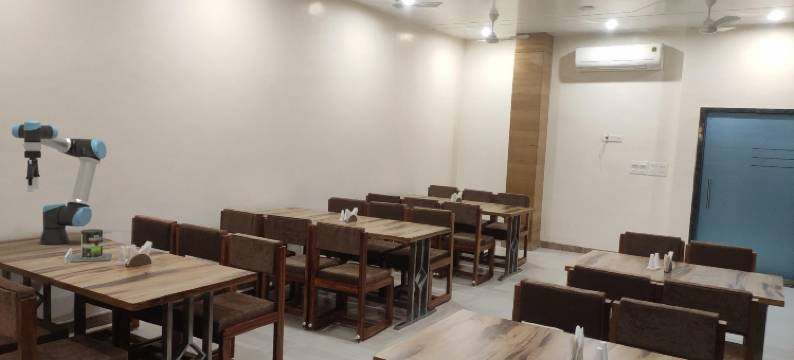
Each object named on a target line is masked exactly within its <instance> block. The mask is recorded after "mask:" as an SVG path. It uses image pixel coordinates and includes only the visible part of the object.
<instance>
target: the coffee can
mask: <svg viewBox="0 0 794 360" xmlns="http://www.w3.org/2000/svg"><path fill="white" fill-rule="evenodd" d="M103 232H104V230H103V229H95V228H94V229H92V228H91V229H83V230H81V231H80V236H81V237H80V254H81V258H83V259H96V258H101V257H103V252H104V251H103V242H104V241H103V236H104V235H103V234H104V233H103Z"/></svg>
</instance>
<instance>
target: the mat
mask: <svg viewBox="0 0 794 360" xmlns="http://www.w3.org/2000/svg"><path fill="white" fill-rule="evenodd" d="M112 255H113V252H110V253H109V252H107V253H103V257H101V258H96V259H83V258H81V253H79V254H74V255H73V257H72V259H71V260H70V263H90V262H91V263H96V262H110V261H111V258H112Z"/></svg>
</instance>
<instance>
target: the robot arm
mask: <svg viewBox="0 0 794 360" xmlns="http://www.w3.org/2000/svg"><path fill="white" fill-rule="evenodd" d="M11 135H12V136H13V137H14V138H16V139H23V142H24V143H22V147H23V149H24V150H25V151H23V156H24V159H28V160H27V169H26V177H25V180H27V192H28V193H32V192H33V193H35V190H39V189H40V188H39V177H41V175H40V173H39V171H40V170H39V164H38V163H39V159H41V158H42V151H41V150H42V146H45V147H48V148H51V149H55V150H57V151H58V152H59V153H60V154H61V153H62V154H63V155H67V156H70V157H73V158H78V160H79V162H80V163H79V166H78V171H77V176H76V178H75V179H76V180H75V183H74V188H73V192H72V196H71V199H70V200H69V201H67V204H66V203H53V204H47V205H44V206H43V207H42V232H41V235H40V238H39V245H46V246H47V245H48V246H53V245H62V244H63V245H65V244H68V243H70V237H69V235H68V232H67V230H66V227H75V228H77V227H78V228H79V227H80V228H81V227H85V226H87V225H88V224H89V223H90V222H91V220H92V218H93V212H92V209H91V208H90V205H89V202H88V201H89V197H90V193H91V188H92V184H93V182H94V181H93V180H94V178H95V177H94V176H95V171H96V167H97V165H98V164H100V162H101V160H103V159H105V157H106V156H107V146H106V144H105V142H104V141H103V140H101V139H96V138H69V137H65V136H63V137H62V136H59V130H58V128H57V127H56V126H55V125H50V124H47V125H44V124H42V123H41V121H39V120H38V121H36V120H35V121H34V120H33V121H32V120H31V121H30V120H26V121H24V123H23V124H21V123H20V124H15V125H14V126H12V128H11Z"/></svg>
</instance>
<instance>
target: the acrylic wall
mask: <svg viewBox="0 0 794 360" xmlns="http://www.w3.org/2000/svg"><path fill="white" fill-rule="evenodd" d="M72 256H73V248H72V247H70V248H69V249H68V251H67V252H66V254H65V255H64V257H63V264H64V265H66V264H67V263H68V262H69V260H70V259H71V257H72Z"/></svg>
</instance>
